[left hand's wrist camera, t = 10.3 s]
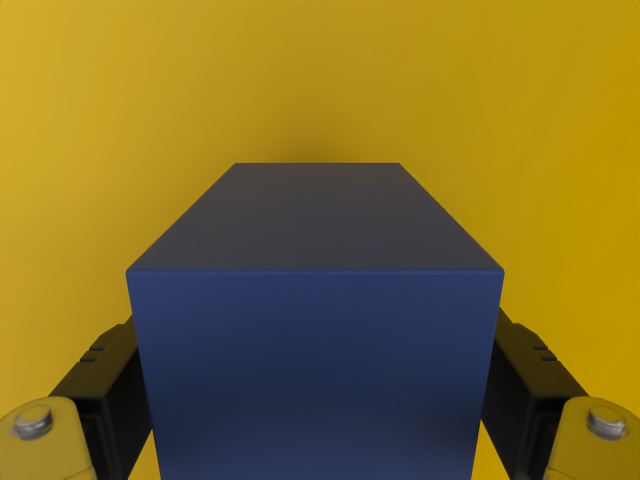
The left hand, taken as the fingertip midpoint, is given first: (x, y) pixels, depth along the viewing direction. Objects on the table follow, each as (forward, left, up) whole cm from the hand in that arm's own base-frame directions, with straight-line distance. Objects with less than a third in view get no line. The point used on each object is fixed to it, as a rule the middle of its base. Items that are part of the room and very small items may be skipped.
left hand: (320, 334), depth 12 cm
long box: (+7, +4, -6) cm, 10 cm away
